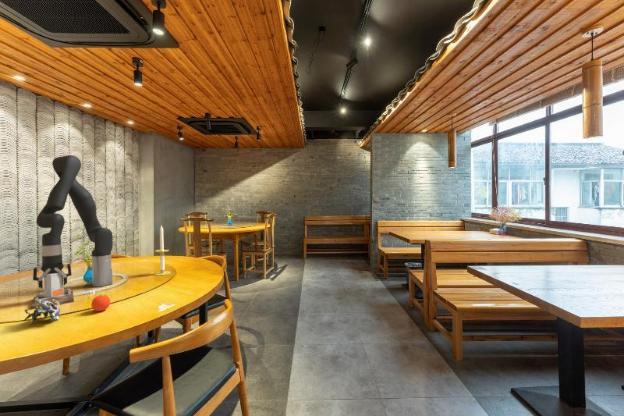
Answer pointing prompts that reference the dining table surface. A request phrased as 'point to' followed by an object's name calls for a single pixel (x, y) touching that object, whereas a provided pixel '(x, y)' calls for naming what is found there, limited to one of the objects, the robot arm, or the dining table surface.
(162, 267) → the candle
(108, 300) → the clementine
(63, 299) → the brown shallow box
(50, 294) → the skincare box
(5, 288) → the dining table surface
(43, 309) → the passion flower
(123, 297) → the dining table surface
